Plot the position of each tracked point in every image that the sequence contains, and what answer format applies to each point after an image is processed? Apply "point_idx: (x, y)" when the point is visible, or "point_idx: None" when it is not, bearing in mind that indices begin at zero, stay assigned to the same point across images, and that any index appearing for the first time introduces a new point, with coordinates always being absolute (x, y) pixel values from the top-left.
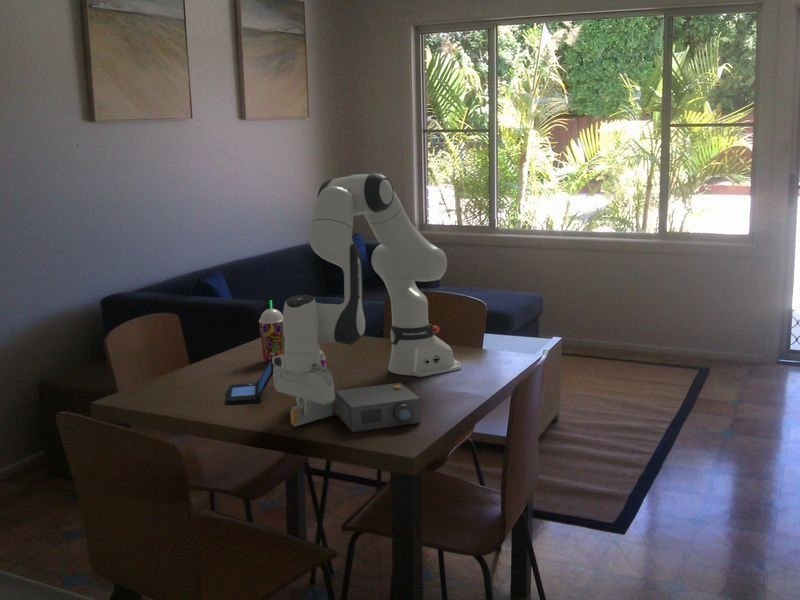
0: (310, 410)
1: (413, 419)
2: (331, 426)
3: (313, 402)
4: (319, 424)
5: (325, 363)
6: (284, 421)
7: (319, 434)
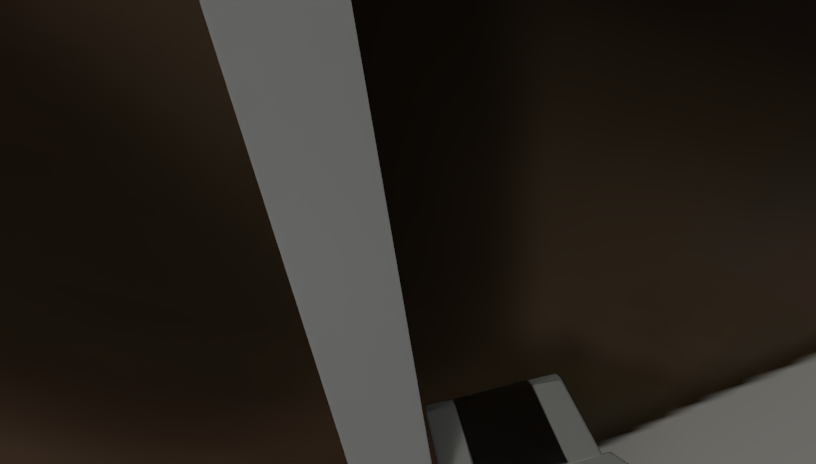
0: (581, 420)
1: None
2: (666, 65)
3: (397, 362)
4: (492, 154)
5: None
6: (148, 408)
7: (729, 276)
